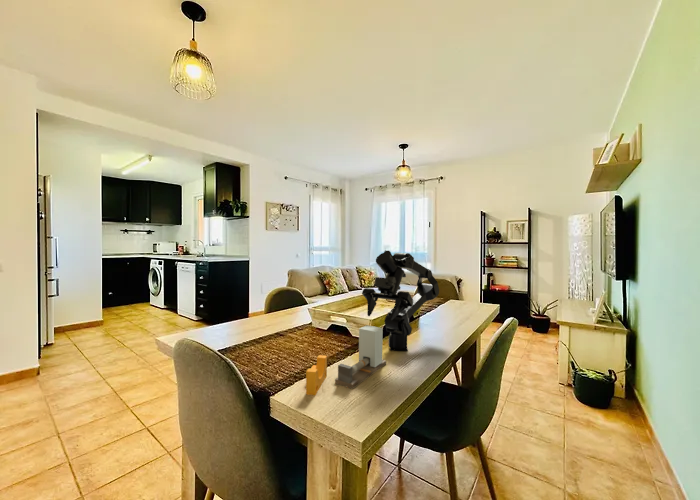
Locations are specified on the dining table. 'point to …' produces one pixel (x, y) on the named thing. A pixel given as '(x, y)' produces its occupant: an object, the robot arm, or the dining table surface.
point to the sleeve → (371, 344)
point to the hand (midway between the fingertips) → (379, 317)
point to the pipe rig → (356, 373)
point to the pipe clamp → (316, 375)
